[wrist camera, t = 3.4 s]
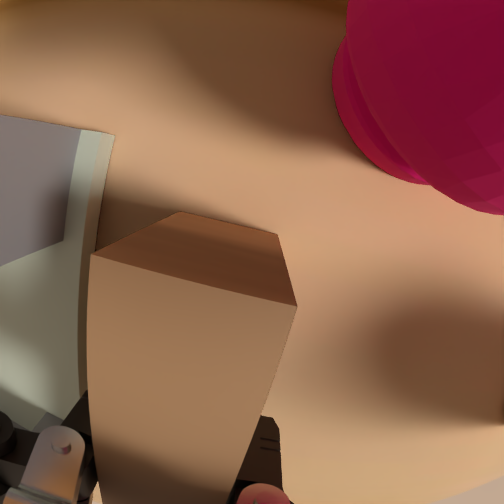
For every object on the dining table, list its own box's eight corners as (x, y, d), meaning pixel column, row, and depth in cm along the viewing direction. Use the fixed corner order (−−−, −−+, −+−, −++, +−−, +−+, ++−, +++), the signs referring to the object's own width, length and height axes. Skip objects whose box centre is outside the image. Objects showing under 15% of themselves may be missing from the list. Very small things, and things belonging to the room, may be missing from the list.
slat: (181, 210, 10) (90, 254, 5) (277, 233, 10) (297, 306, 5) (148, 454, 13) (113, 549, 7) (211, 470, 13) (194, 570, 7)
